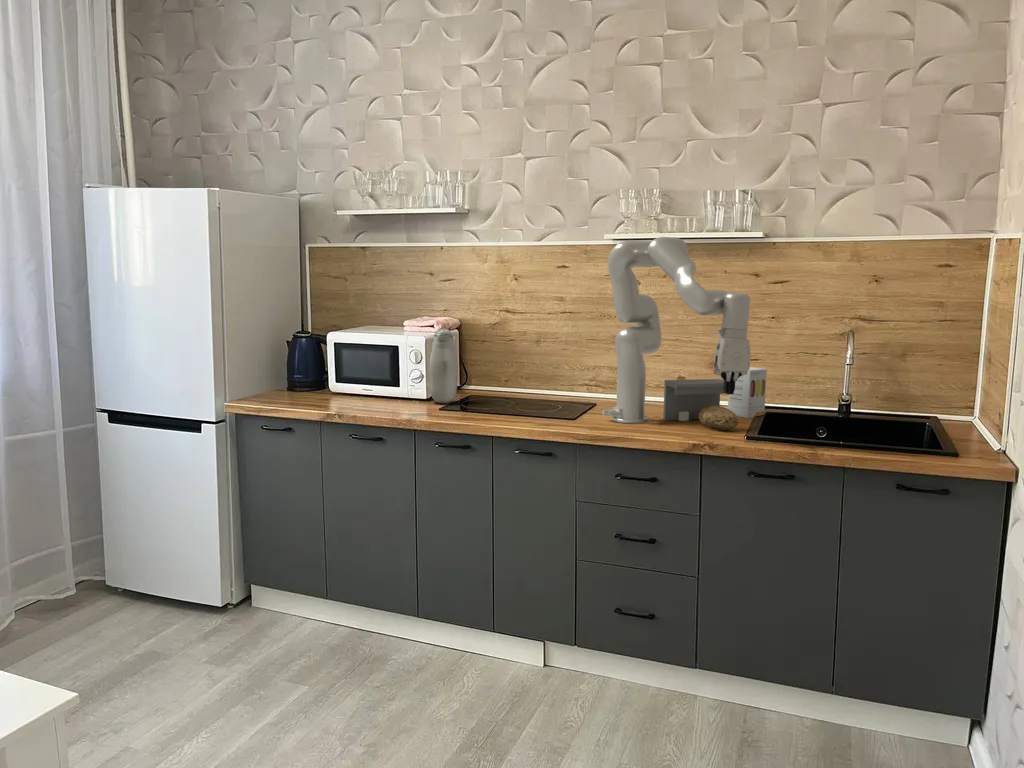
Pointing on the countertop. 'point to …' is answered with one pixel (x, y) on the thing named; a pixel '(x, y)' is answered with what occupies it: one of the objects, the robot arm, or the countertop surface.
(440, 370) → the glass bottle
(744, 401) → the supplement box
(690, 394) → the grey footed stand
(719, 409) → the rough tan stone
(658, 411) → the countertop surface
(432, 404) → the countertop surface
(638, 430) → the countertop surface
